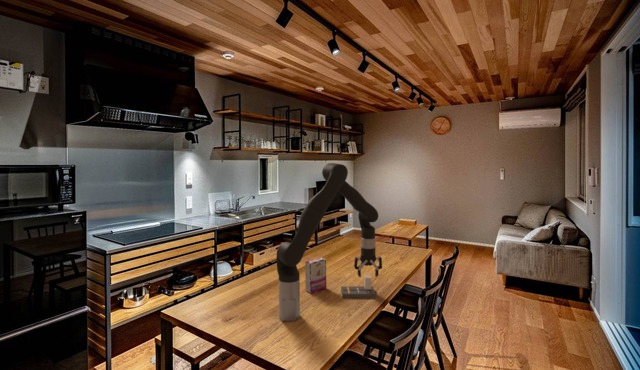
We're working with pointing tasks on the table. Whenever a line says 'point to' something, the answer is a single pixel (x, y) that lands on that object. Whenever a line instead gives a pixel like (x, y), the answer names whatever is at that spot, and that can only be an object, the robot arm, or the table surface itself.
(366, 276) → the fader knob
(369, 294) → the fader console
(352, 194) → the robot arm
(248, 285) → the table surface
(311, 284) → the candy bar box
